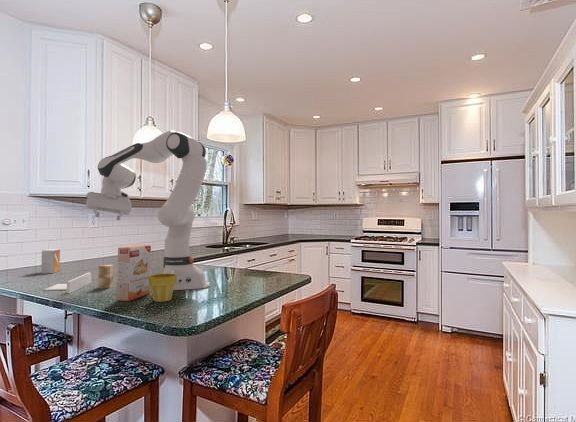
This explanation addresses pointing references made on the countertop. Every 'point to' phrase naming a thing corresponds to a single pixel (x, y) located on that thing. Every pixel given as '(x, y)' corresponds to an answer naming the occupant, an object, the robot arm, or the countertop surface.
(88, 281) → the low wall
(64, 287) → the pad
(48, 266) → the small box
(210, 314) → the countertop surface
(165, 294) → the plant pot
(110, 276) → the maple block
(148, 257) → the cracker box
